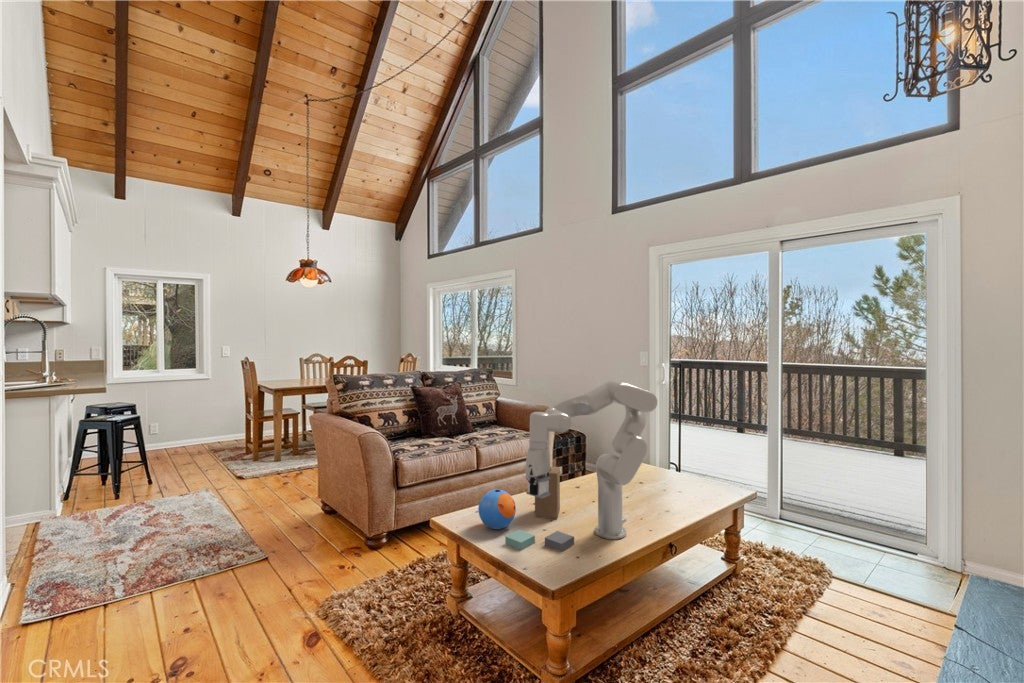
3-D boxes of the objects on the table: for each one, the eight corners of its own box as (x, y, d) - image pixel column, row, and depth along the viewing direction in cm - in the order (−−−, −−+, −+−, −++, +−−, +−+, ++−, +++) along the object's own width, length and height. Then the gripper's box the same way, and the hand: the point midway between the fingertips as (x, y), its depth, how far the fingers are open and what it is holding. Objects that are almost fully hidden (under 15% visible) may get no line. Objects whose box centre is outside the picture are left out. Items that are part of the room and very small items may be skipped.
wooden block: (557, 519, 203) (557, 473, 202) (534, 517, 205) (534, 472, 204) (559, 510, 213) (559, 466, 212) (538, 509, 215) (537, 465, 214)
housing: (534, 490, 183) (534, 472, 183) (550, 495, 178) (550, 476, 178) (526, 493, 179) (526, 475, 179) (542, 498, 174) (542, 479, 174)
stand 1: (519, 537, 185) (519, 529, 185) (534, 543, 180) (534, 535, 180) (505, 544, 179) (505, 536, 179) (521, 550, 174) (521, 542, 174)
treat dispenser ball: (495, 517, 206) (495, 482, 205) (523, 526, 196) (523, 489, 196) (470, 528, 194) (470, 491, 193) (499, 538, 184) (498, 500, 184)
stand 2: (557, 538, 184) (557, 530, 184) (574, 544, 179) (574, 536, 179) (544, 545, 178) (544, 537, 178) (561, 551, 173) (561, 543, 173)
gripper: (544, 439, 187) (543, 485, 187) (517, 446, 174) (516, 495, 174) (560, 443, 182) (559, 489, 182) (533, 450, 169) (531, 500, 169)
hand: (538, 492), depth 178 cm, fingers closed on housing, 5 cm apart
